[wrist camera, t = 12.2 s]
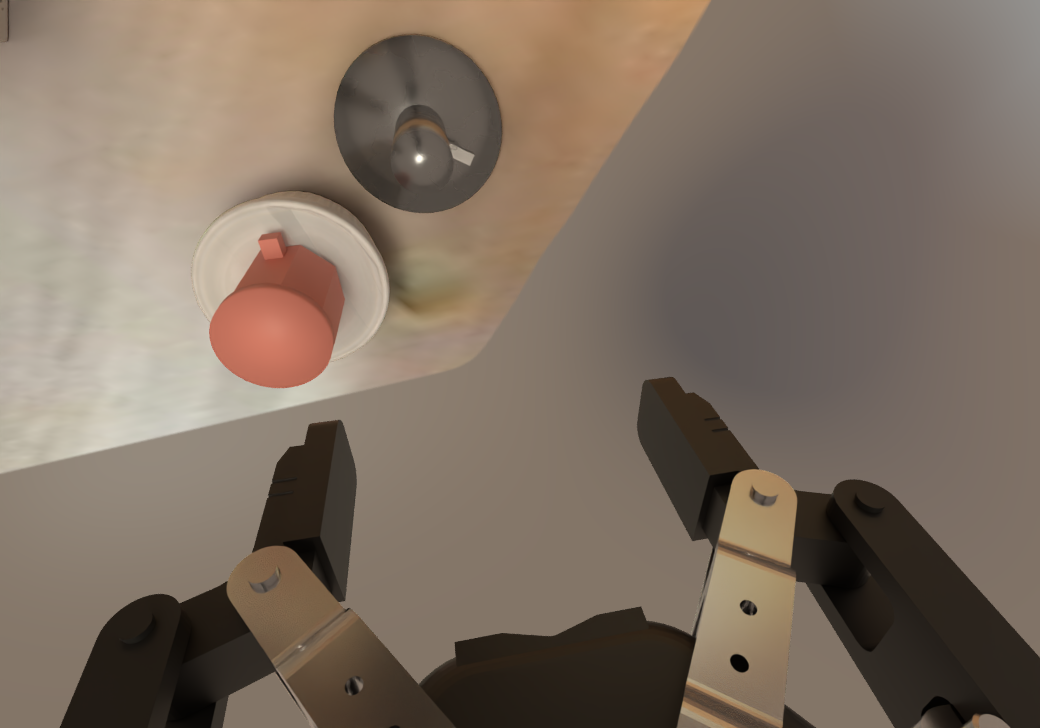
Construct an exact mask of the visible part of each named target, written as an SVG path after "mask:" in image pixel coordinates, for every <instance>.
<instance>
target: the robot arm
mask: <svg viewBox="0 0 1040 728" xmlns="http://www.w3.org/2000/svg"><path fill="white" fill-rule="evenodd" d="M637 430H638V436H639V439H640V442H641V445H642V447H643V449H644V451H645V452H646V454H647V456H648V458H649V460H650V462H651V464H652V466H653V468H654V469H655V471H656V473H657V475H658V477H659V479H660V481H661V483H662V485H663V486H664V488H665V490H666V492H667V494H668V496H669V498H670V500H671V502H672V504H673V505H674V507H675V509H676V511H677V513H678V515H679V517H680V519H681V520H682V522H683V524H684V526H685V528H686V530H687V532H688V534H689V536H690V537H691V539H692V541H695V540H701V539H706V538H708V539H709V541H710V543H711V544H712V546H713V548H712V551H711V554H710V559H709V562H708V566H707V571H706V574H705V579H704V583H703V587H702V591H701V595H700V599H699V603H698V607H697V611H696V615H695V619H694V623H693V626H692V630H691V634H688V633H686V632H684V631H682V630H679V629H677V628H675V627H672V626H669V625H666V624H662V623H657V622H652V621H646V618H645V616H644V613H643V610H642V608H641V607H636V608H631V609H625V610H620V611H615V612H610V613H605V614H599V615H596V616H594V617H592V618H590V619H588V620H586V621H584V622H582V623H580V624H578V625H576V626H574V627H572V628H570V629H568V630H566V631H564V632H562V633H559V634H558V635H555V636H536V635H521V634H507V633H500V634H495V635H490V636H484V637H479V638H474V639H469V640H464V641H458V642H455V653H456V657H455V658H453V659H451V660H449V661H447V662H445V663H444V664H442V665H441V666H439V667H438V668H436V669H435V670H434V671H433V672H431V673H430V674H429V675H428V676H427V677H425V679H423V680H422V681H421V683H420V684H419V685H418V683H417V682H416V681H415V680H414V679H413V678H412V677H411V675H410V674H409V673H408V672H407V671H406V670H405V669H404V667H403V666H402V665H401V664H400V663H399V662H398V661H397V660H396V658H395V657H394V656H393V655H392V654H391V653H390V651H389V650H388V649H387V648H386V647H385V646H384V645H383V643H382V642H381V641H380V640H379V639H378V638H377V637H376V635H375V634H374V633H373V632H372V631H371V630H370V629H369V627H368V626H367V625H366V624H365V623H364V622H363V620H362V619H361V618H360V617H359V616H358V615H357V614H356V613H355V612H354V611H353V610H352V609H350V608H348V609H347V610H346V609H344V608H343V607H342V606H341V605H340V603H339V602H341V601H345V596H346V587H347V577H348V567H349V556H350V545H351V537H352V526H353V516H354V506H355V496H356V485H357V479H356V468H355V463H354V460H353V456H352V453H351V449H350V446H349V442H348V439H347V435H346V432H345V429H344V426H343V423H342V421H341V420H335V421H327V422H319V423H312V424H310V425H309V427H308V431H307V435H306V440H305V444H304V445H301V446H294V447H289V449H288V450H287V451H286V452H285V454H284V455H283V456H282V457H281V459H280V460H279V461H278V462H277V465H276V468H275V472H274V476H273V479H272V482H273V483H272V484H271V487H270V490H269V494H268V495H269V498H267V501H266V505H265V509H264V512H263V516H262V520H261V523H260V527H259V530H258V534H257V538H256V541H255V545H254V548H253V551H252V554H250V555H248V556H247V557H246V558H244V559H243V560H242V561H241V562H240V563H239V564H238V565H237V566H236V567H235V569H234V570H233V571H232V573H231V575H230V577H229V579H228V581H227V582H225V583H223V584H222V585H220V586H218V587H216V588H214V589H212V590H209V591H207V592H205V593H203V594H200V595H198V596H196V597H193V598H191V599H189V600H187V601H184V602H182V603H180V604H179V603H178V601H177V600H176V599H175V598H174V597H172V596H169V595H165V594H155V595H149V596H146V597H143V598H140V599H138V600H136V601H134V602H132V603H130V604H128V605H127V606H125V607H124V608H122V609H121V610H120V611H118V612H117V613H116V614H115V615H114V616H113V617H112V618H111V619H110V620H109V621H108V622H107V624H105V626H104V627H103V629H102V630H101V632H100V634H99V636H98V638H97V640H96V642H95V645H94V647H93V649H92V652H91V654H90V657H89V659H88V661H87V664H86V666H85V669H84V671H83V673H82V676H81V678H80V681H79V683H78V685H77V688H76V690H75V693H74V695H73V697H72V700H71V702H70V704H69V707H68V709H67V712H66V714H65V716H64V719H63V721H62V724H61V726H60V728H222V727H223V721H224V717H225V711H226V706H227V701H228V696H229V695H230V694H232V693H234V692H236V691H238V690H240V689H242V688H244V687H245V686H248V685H250V684H251V683H253V682H255V681H257V680H259V679H261V678H263V677H265V676H267V675H269V674H271V673H273V672H275V673H276V675H277V677H278V678H279V680H280V681H281V683H282V684H283V685H284V687H285V689H286V690H287V691H288V693H289V695H290V696H291V697H292V699H293V701H294V702H295V703H296V705H297V706H298V708H299V709H300V711H301V712H302V714H303V715H304V717H305V718H306V720H307V721H308V723H309V724H310V726H311V727H312V728H816V727H814V726H813V725H811V724H810V723H809V722H808V721H806V720H805V719H804V718H802V717H801V716H800V715H798V714H797V713H796V712H794V711H793V710H792V709H790V708H789V707H788V706H786V705H785V704H784V703H785V692H786V682H787V670H788V660H789V648H790V637H791V627H792V616H793V605H794V593H795V583H796V581H798V582H805V583H806V584H807V586H808V587H809V589H810V591H811V592H812V594H813V596H814V597H815V599H816V601H817V602H818V604H819V606H820V607H821V609H822V610H823V612H824V614H825V615H826V617H827V618H828V620H829V622H830V623H831V625H832V627H833V628H834V630H835V631H836V633H837V635H838V636H839V638H840V640H841V641H842V643H843V644H844V646H845V648H846V649H847V651H848V653H849V654H850V656H851V657H852V659H853V661H854V662H855V664H856V666H857V667H858V669H859V670H860V672H861V674H862V675H863V677H864V679H865V680H866V682H867V683H868V685H869V687H870V688H871V690H872V692H873V693H874V695H875V696H876V698H877V700H878V701H879V703H880V705H881V706H882V707H883V709H884V711H885V713H886V714H887V716H888V718H889V719H890V721H891V722H892V724H893V726H894V727H895V728H1040V658H1039V656H1038V655H1037V654H1036V653H1035V652H1034V651H1033V650H1032V648H1031V647H1030V646H1029V645H1028V644H1027V643H1026V642H1025V641H1024V640H1023V638H1021V636H1020V635H1019V634H1018V633H1017V632H1016V631H1015V630H1014V628H1013V627H1012V626H1011V625H1010V624H1009V623H1008V622H1007V621H1006V620H1005V618H1004V617H1003V616H1002V615H1001V614H1000V613H999V612H998V611H997V610H996V609H995V607H994V606H993V605H992V604H991V603H990V602H989V601H988V600H987V598H986V597H985V596H984V595H983V594H982V593H981V592H980V591H979V590H978V588H977V587H976V586H975V585H974V584H973V583H972V582H971V581H970V580H969V579H968V577H967V576H966V575H965V574H964V573H963V572H962V571H961V570H960V568H959V567H958V566H957V565H956V564H955V563H954V562H953V561H952V560H951V558H949V556H948V555H947V554H946V553H945V552H944V551H943V550H942V548H941V547H940V546H939V545H938V544H937V543H936V542H935V541H934V540H933V538H932V537H931V536H930V535H929V534H928V533H927V532H926V531H925V530H924V529H923V527H922V526H921V525H920V524H919V523H918V522H917V521H916V520H915V518H914V517H913V516H912V515H911V514H910V513H909V512H908V511H907V510H906V508H905V507H904V506H903V505H902V504H901V503H900V502H899V501H898V500H897V499H896V498H895V497H894V496H893V495H892V494H891V493H889V492H888V491H887V490H885V489H883V488H882V487H880V486H878V485H875V484H873V483H870V482H866V481H862V480H845V481H842V482H840V483H839V484H837V486H836V487H835V489H834V491H833V493H832V494H822V493H812V492H803V491H797V490H793V488H792V487H791V486H790V485H789V484H788V483H787V482H786V481H785V480H784V479H782V478H781V477H779V476H777V475H775V474H773V473H770V472H768V471H764V470H759V468H758V467H757V466H756V464H755V463H754V462H753V460H752V459H751V458H750V456H749V455H748V454H747V452H746V451H745V450H744V448H743V447H742V446H741V444H740V443H739V442H738V440H737V439H736V438H735V436H734V435H733V434H732V432H731V431H730V430H728V427H727V426H726V424H725V423H724V422H723V420H720V417H719V415H718V414H717V412H716V411H715V410H714V409H713V407H712V406H711V404H710V403H708V402H707V401H706V400H704V399H702V398H701V397H699V396H698V395H697V394H695V393H687V394H686V393H685V392H684V391H683V389H682V388H681V386H680V385H679V384H678V382H677V381H676V379H675V378H673V377H667V378H659V379H651V380H645V381H644V383H643V386H642V392H641V400H640V407H639V414H638V422H637Z"/></svg>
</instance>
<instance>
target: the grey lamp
mask: <svg viewBox="0 0 1040 728" xmlns="http://www.w3.org/2000/svg"><path fill="white" fill-rule="evenodd" d="M334 128H335V134H336V139H337V143H338V146H339V149H340V152H341V154H342V157H343V159H344V161H345V163H346V165H347V166H348V168H349V170H350V171H351V173H352V174H353V176H354V177H355V178H356V179H357V181H358V182H359V183H360V184H361V185H362V186H363V187H364V188H365V189H366V190H367V191H368V192H370V193H371V194H372V195H373V196H374V197H376V198H378V199H379V200H381V201H382V202H384V203H386V204H388V205H390V206H392V207H395V208H398V209H401V210H404V211H409V212H416V213H433V212H439V211H444V210H447V209H450V208H453V207H455V206H457V205H459V204H461V203H463V202H464V201H466V200H467V199H469V198H470V197H471V196H473V195H474V194H475V193H476V192H477V191H478V190H479V189H480V188H481V187H482V186H483V185H484V183H485V182H486V180H487V179H488V177H489V176H490V174H491V172H492V170H493V168H494V166H495V164H496V161H497V158H498V155H499V150H500V146H501V136H502V126H501V117H500V111H499V107H498V103H497V100H496V97H495V95H494V92H493V90H492V88H491V86H490V84H489V82H488V80H487V79H486V77H485V76H484V74H483V73H482V72H481V70H480V69H479V68H478V67H477V66H476V65H475V63H474V62H473V61H472V60H471V59H470V58H468V57H467V56H466V55H465V54H464V53H463V52H461V51H460V50H458V49H457V48H455V47H454V46H452V45H451V44H448V43H446V42H444V41H442V40H440V39H436V38H433V37H430V36H424V35H418V34H405V35H399V36H393V37H390V38H387V39H384V40H382V41H380V42H378V43H376V44H374V45H372V46H371V47H369V48H368V49H367V50H365V51H364V52H363V53H362V54H361V55H360V56H359V57H358V58H357V59H356V60H355V61H354V62H353V63H352V65H351V66H350V67H349V69H348V70H347V71H346V73H345V75H344V77H343V79H342V81H341V84H340V86H339V89H338V92H337V96H336V101H335V108H334Z"/></svg>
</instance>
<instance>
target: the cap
mask: <svg viewBox="0 0 1040 728" xmlns="http://www.w3.org/2000/svg"><path fill="white" fill-rule="evenodd" d="M258 243H259V246H260V248H261V250H260V251H259V253H258V254H257V256H256V258H255V259H254V261H253V262H252V264H251V265H250V267H249V269H248V270H247V272H246V273H245V275H244V276H243V278H242V279H241V281H240V283H239V284H238V286H237V287H236V289H235V290H234V292H232V293H231V294H230V295H228V296H227V297H226V298H225V299H224V300H223V302H222V303H221V304H220V306H219V307H218V309H217V310H216V312H215V313H214V315H213V317H212V320H211V323H210V329H209V334H210V341H211V345H212V348H213V350H214V352H215V354H216V356H217V357H218V358H219V360H220V361H221V362H222V363H223V364H224V366H225V367H226V368H228V369H229V370H230V371H231V372H232V373H234V374H235V375H237V376H238V377H240V378H242V379H244V380H246V381H248V382H251V383H253V384H257V385H260V386H265V387H271V388H288V387H294V386H299V385H302V384H305V383H307V382H309V381H311V380H313V379H314V378H316V377H317V376H318V375H319V374H321V373H322V371H323V370H324V369H325V368H326V366H327V365H328V363H329V361H330V359H331V355H332V351H333V347H334V344H335V340H336V336H337V332H338V327H339V323H340V319H341V315H342V310H343V306H344V302H345V298H344V294H343V291H342V287H341V284H340V281H339V277H338V274H337V270H336V267H335V266H334V265H332V264H331V263H329V262H327V261H326V260H324V259H323V258H321V257H319V256H318V255H316V254H314V253H313V252H311V251H310V250H308V249H306V248H305V247H303V246H301V245H295V246H287V247H286V246H285V243H284V240H283V238H282V235H281V232H277V233H269V234H262V235H261V237H260V238H259V240H258Z"/></svg>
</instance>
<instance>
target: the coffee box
mask: <svg viewBox="0 0 1040 728" xmlns="http://www.w3.org/2000/svg"><path fill="white" fill-rule="evenodd" d="M7 39H8V0H0V42H6V41H7Z"/></svg>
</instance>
